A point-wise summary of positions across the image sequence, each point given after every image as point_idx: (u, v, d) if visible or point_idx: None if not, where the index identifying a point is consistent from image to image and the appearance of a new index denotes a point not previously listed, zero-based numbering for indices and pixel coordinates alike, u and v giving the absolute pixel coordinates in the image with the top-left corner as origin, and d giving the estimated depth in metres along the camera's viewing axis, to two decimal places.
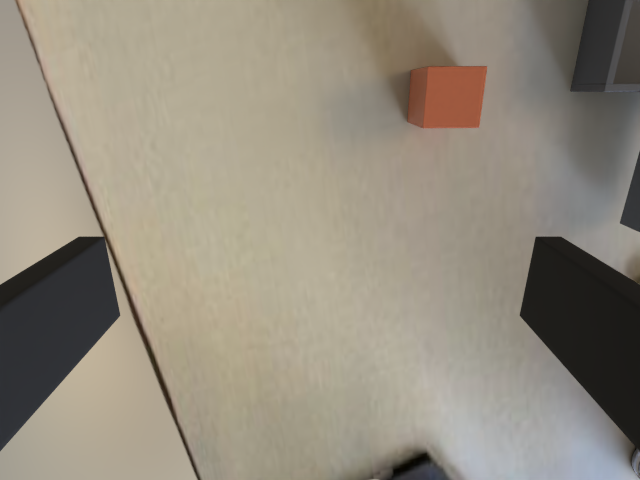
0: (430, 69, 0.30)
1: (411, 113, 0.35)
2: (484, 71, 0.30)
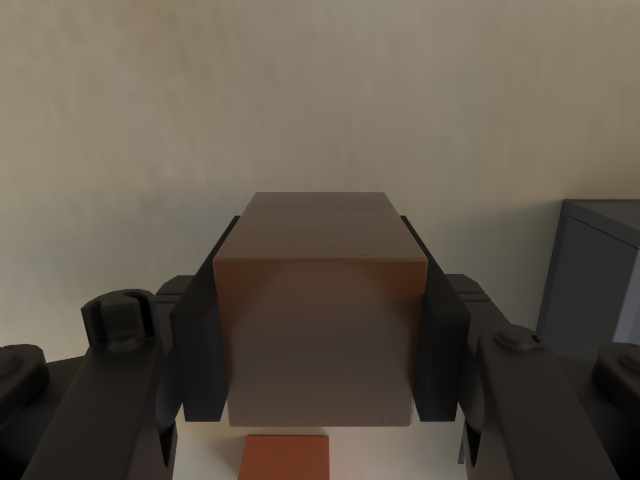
0: None
1: None
2: None
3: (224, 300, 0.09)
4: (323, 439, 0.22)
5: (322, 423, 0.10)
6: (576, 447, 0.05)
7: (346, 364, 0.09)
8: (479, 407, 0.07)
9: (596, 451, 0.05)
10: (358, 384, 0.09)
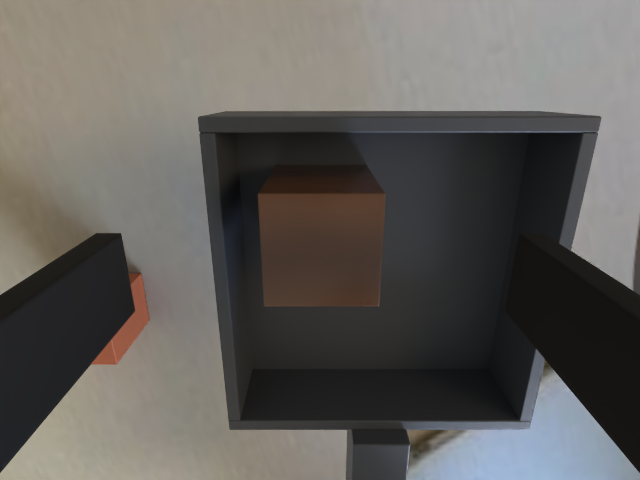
0: None
1: None
2: None
3: (263, 220, 0.14)
4: (136, 274, 0.33)
5: (323, 304, 0.15)
6: None
7: (338, 262, 0.15)
8: None
9: None
10: (345, 276, 0.15)
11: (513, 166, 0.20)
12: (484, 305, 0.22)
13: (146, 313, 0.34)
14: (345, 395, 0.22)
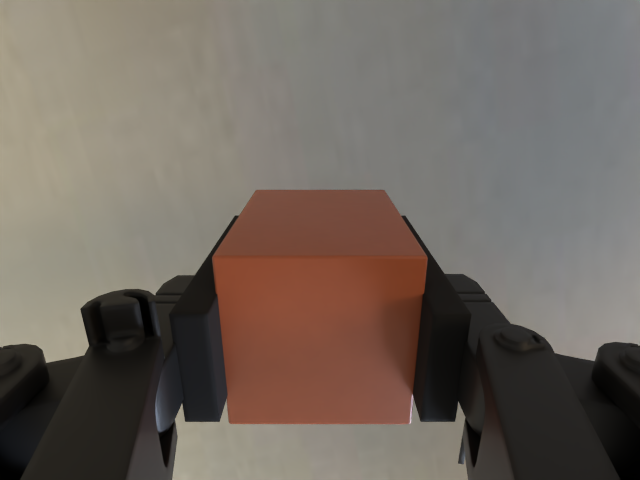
0: (221, 266, 0.08)
1: None
2: (418, 272, 0.08)
3: None
4: (376, 191, 0.14)
5: None
6: (576, 447, 0.05)
7: None
8: (479, 407, 0.07)
9: (596, 451, 0.05)
10: None
11: None
12: None
13: None
14: None
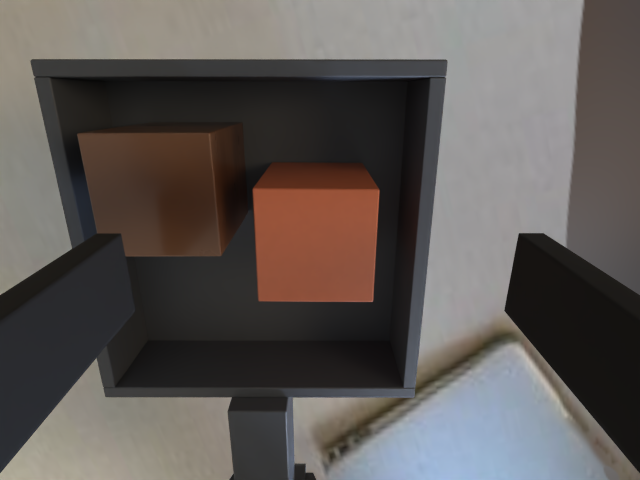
0: (257, 194, 0.14)
1: None
2: (374, 198, 0.14)
3: (87, 162, 0.14)
4: (356, 163, 0.19)
5: (162, 253, 0.15)
6: None
7: (170, 207, 0.14)
8: None
9: None
10: (181, 223, 0.14)
11: (394, 125, 0.19)
12: (379, 273, 0.22)
13: None
14: (233, 364, 0.21)
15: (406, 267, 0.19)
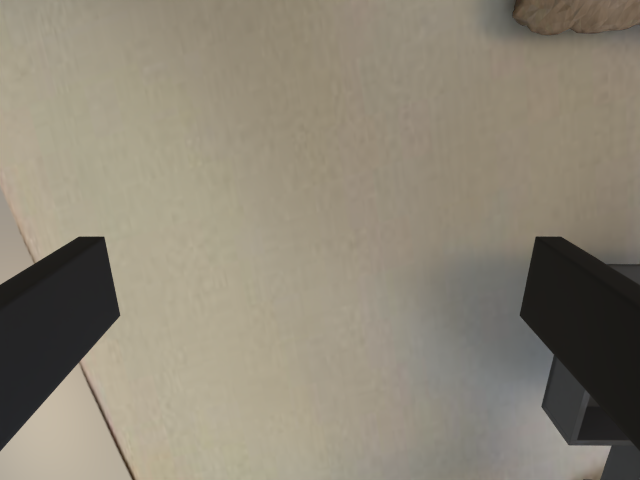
0: None
1: None
2: None
3: None
4: None
5: None
6: None
7: None
8: None
9: None
10: None
11: None
12: None
13: None
14: None
15: None
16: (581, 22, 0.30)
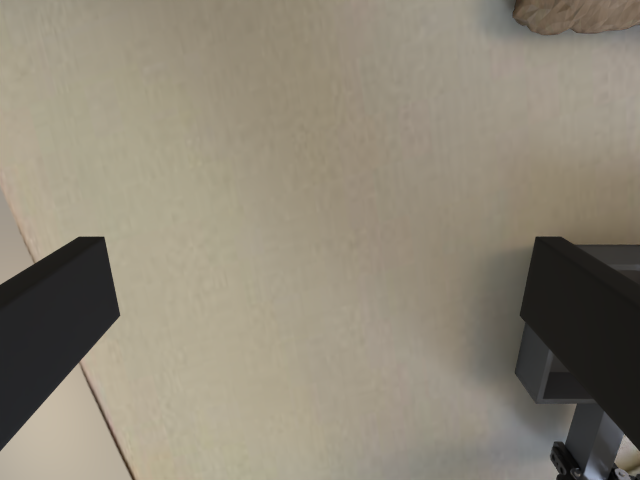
0: None
1: None
2: None
3: None
4: None
5: None
6: None
7: None
8: None
9: None
10: None
11: None
12: None
13: None
14: None
15: None
16: (581, 22, 0.30)
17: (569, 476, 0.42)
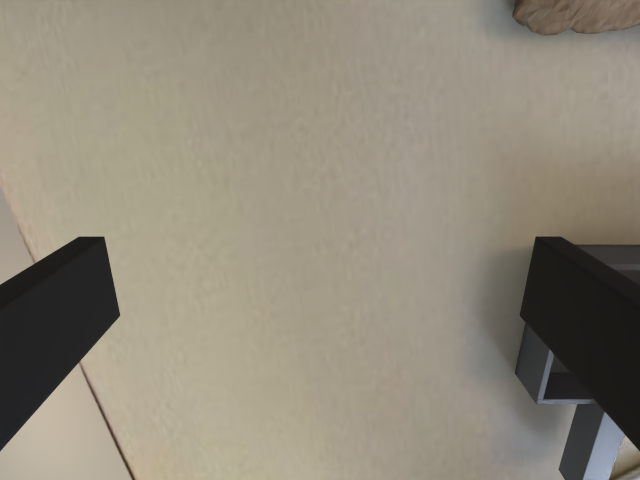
0: None
1: None
2: None
3: None
4: None
5: None
6: None
7: None
8: None
9: None
10: None
11: None
12: None
13: None
14: None
15: None
16: (581, 22, 0.30)
17: None
